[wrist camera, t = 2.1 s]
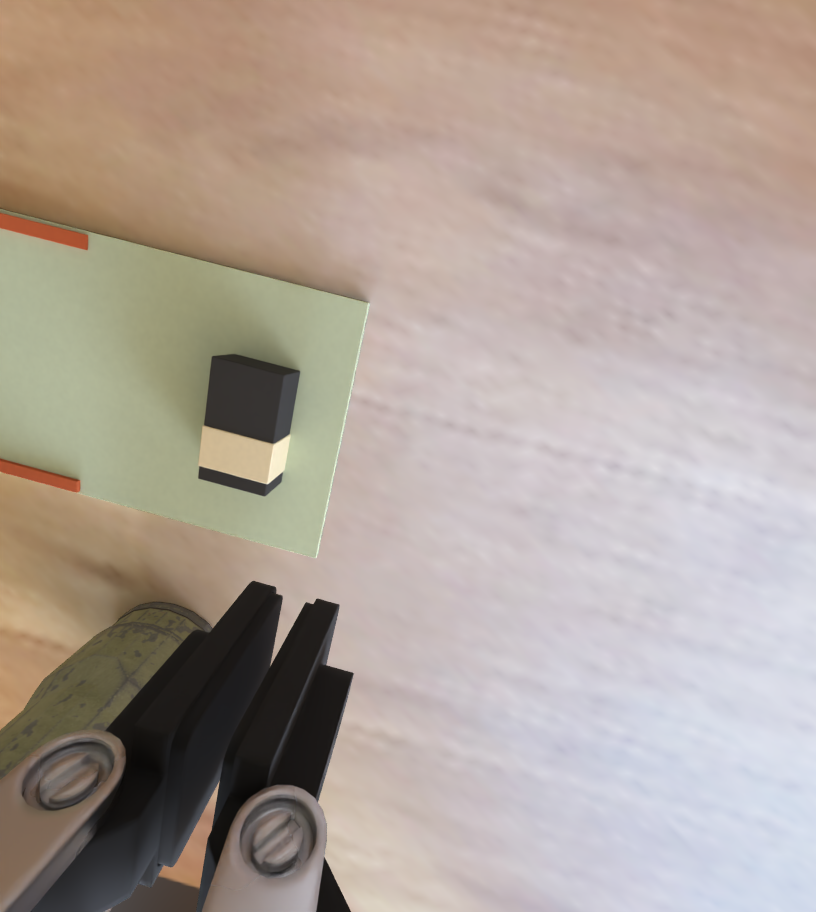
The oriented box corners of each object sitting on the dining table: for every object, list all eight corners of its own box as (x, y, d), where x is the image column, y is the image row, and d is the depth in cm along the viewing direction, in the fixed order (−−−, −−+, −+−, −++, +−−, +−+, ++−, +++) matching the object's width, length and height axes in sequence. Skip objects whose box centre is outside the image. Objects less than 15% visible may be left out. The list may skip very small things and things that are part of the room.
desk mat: (-106, 181, 25) (-121, 178, 25) (370, 303, 25) (367, 302, 24) (-85, 445, 30) (-97, 448, 29) (317, 555, 29) (314, 561, 28)
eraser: (233, 353, 26) (209, 355, 23) (302, 370, 26) (285, 375, 23) (219, 465, 28) (195, 479, 25) (282, 482, 28) (265, 497, 25)
